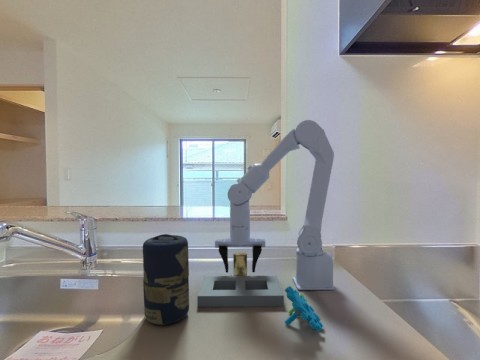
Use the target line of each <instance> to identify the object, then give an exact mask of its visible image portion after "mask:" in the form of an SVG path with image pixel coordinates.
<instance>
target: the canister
mask: <svg viewBox="0 0 480 360" xmlns="http://www.w3.org/2000/svg"><path fill="white" fill-rule="evenodd" d="M142 260H143V261H142V266H143V267H142V268H143V269H142V270H143V272H142V273H143V277H142V278H143V280H142V283H143V285H142V286H143V305H144V307H143V309H144V312H143V313H144V317H145V319H146V321H148V322H149V323H151V324H155V325H160V326H162V325H163V326H164V325H169V324H174V323H176V322H178V321H181V320H183V319H184V318H185V317H186V316H187V315H188V313H189V310H190V289H189V288H190V285H189V281H190V280H189V277H190V276H189V275H190V274H189V273H190V269H189V266H190V264H189V263H190V262H189V241H188V239H187V238H186V237H185V236H182V235H175V234H169V233H165V234H159V235H157V236H154V237H150V238H148V239H146V240H145V241H143V243H142Z"/></svg>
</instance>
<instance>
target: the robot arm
mask: <svg viewBox="0 0 480 360" xmlns="http://www.w3.org/2000/svg"><path fill="white" fill-rule="evenodd" d="M300 146H302V147H303V148H305V149H306V150H307V151H309V153H310V154H311V155H312V156H313V158H314V160H315V161H314V167H313V172H312V179H311V184H310V189H309V195H308V201H307V204H306V205H307V206H306V211H305V217H304V221H303V225H302V227H301V228H300V229H299V232H298V236H297V240H296V245H297V248H296V249H295V256H296V257H295V267H296V268H295V276H292V281H293V282H294V285H295V286H296V290H297V291H298V290H299V291H320V290H321V291H324V290H325V291H326V290H327V291H328V290H329V291H330V290H331V291H333V290H335V287H334V262H333V260H334V259H333V256H332V254H331V253H330V251H329V252H328V251H324V250H323V241H322V233H321V232H322V224H323V217H324V212H325V206H326V201H327V196H328V191H329V190H328V189H329V185H330V180H331V179H330V178H331V174H332V168H333V165H334V164H333V163H334V158H335V152H334V150H333V148H332V146H331V144H330V141H329V139H328V137H327V135H326V132H325V130H324V129H323V128H322V127H321V126H320V124H319V123H317V122H316V121H315V120H312V119H305V120H302V121H300V122H299V123H298V124H297V125H296V127H295V128H293V129H291V130H290V131H289V132H288V133H287V134H286V135H285V136H284V137H283V138H282V139H281V141H280V142H278V144H276V146H275V147H274V148H273V150H272V151H271V152H270V153H269V154H268V155H267V156H266V157H265V159H263V161H262V162H261V163H254V164H253V165H249V166H248V167H247V171H246V172H245V173H244V175H243V176H242V177H240V178H238V179H236V182H237V183H234V184H232V185H230V187H229V188H228V191H227V199H228V200H229V202H230V203H229V206H230V207H229V209H230V210H229V225H230V226H229V227H230V228H229V230H230V231H229V232H230V233H229V234H230V237H229V238H222V239H220V238H219V239H218V238H217V239H216V238H215V240H214V248H215V249H216V248H218V253H219V255H220V257H221V259H222V262H223V264H224V269H225V273H229V259H228V257H229V255H228V254H229V253H228V252H229V248H249V247H250V248H251V247H252V248H251V249H252V261H251V262H252V264H251V273H256V266H257V263H258V260H259V258H260V256H261V254H262V250H263V249H262V248H266V239H265V238H252V237H251V218H250V217H251V216H250V215H251V214H250V213H251V211H250V210H251V209H250V200H251V198H252V196H253V194H255V193H256V192H257V191H258V190H259V189H260V188H261V187H262V186H263V185H264V184H265V183H266V182H267V181H268V180H269V179H270V172H271V171H272V169H273V168H274V167H275V166H276V165H277V164H278V163H279V162H280V161H281V160H282V159H283V158H285V156H286V155H288V154H289V152H292V151H296V150H299V149H301V147H300Z"/></svg>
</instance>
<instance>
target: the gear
mask: <svg viewBox="0 0 480 360" xmlns="http://www.w3.org/2000/svg"><path fill="white" fill-rule="evenodd" d="M284 292H285V293H286V298H287V299H288V300H289V301H290V302H291V305H292V308H291V309H290V310H288V314H289V315H290V316H289V317H288V318H287V319H285V320H284V324H285V325H286V326H287V327H288V326H290V325H291V323H293V322H294V321H295V320H297V318H301V319H302V320H303V321H306V320H308V325H309V326H310V327H311V328H312V329H313V330H314V329H315V330H316V331H317V332H321V331H323V327H324V324H323V323H322V322H321V318H320V316H319V315H318V314H316V313H315V309H314V308H313V306H312V305H310V304H309V303H308V301H307V300H306V297H305V295H304V294H303V293H301V294H300V292H299V291H298V290H297V289H294V288H293V287H292V286H291V285H289V286H287V287H286V288H285V289H284Z"/></svg>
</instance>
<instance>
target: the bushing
mask: <svg viewBox="0 0 480 360" xmlns="http://www.w3.org/2000/svg"><path fill="white" fill-rule="evenodd" d="M232 258H233V260H232V261H233V262H232V263H233V265H232V267H233V273H232V276H248V253H246V252H243V251H239V252H237V251H236V252H234V253H233V257H232Z"/></svg>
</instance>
